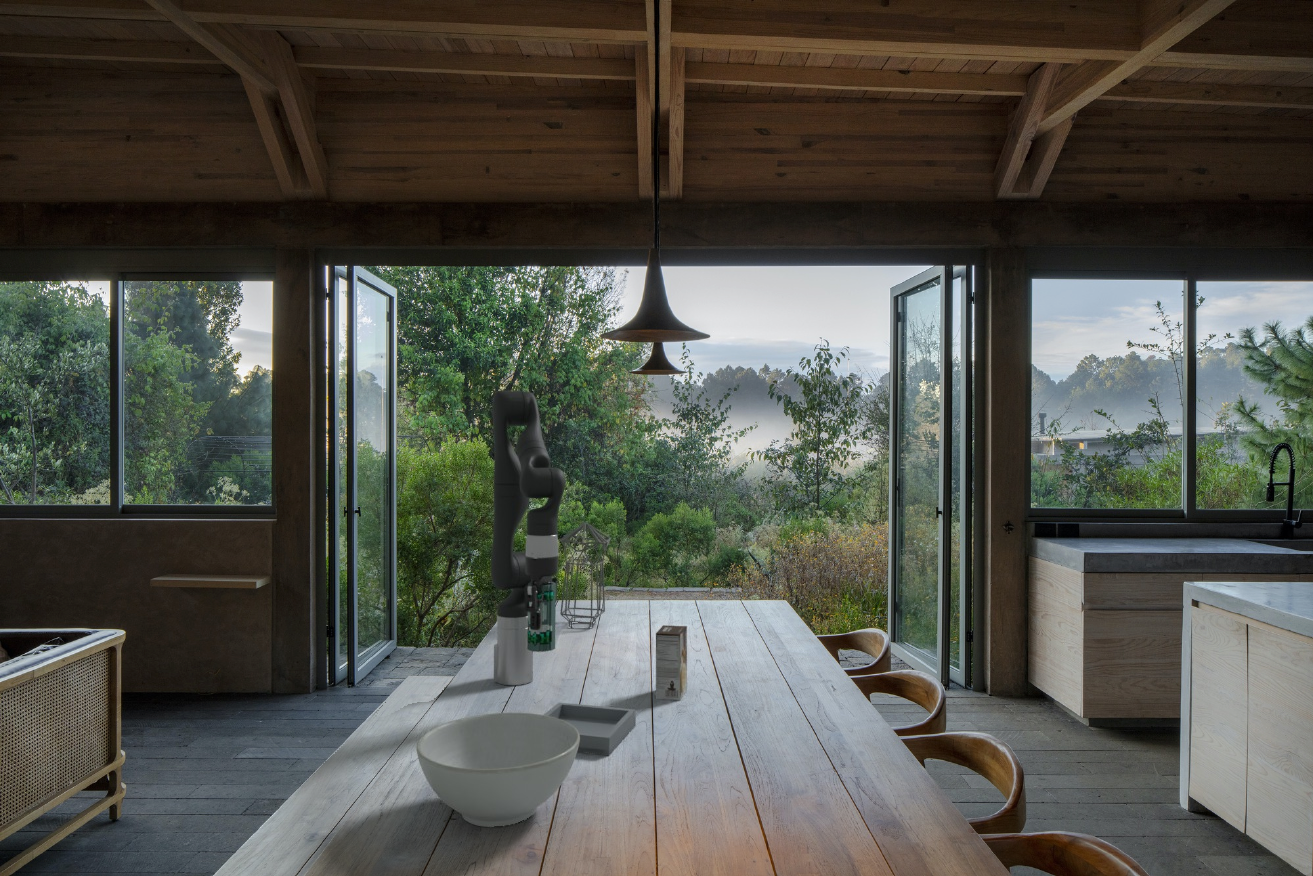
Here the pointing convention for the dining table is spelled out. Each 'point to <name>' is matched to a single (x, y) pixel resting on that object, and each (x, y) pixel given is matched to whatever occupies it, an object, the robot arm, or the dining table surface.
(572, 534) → the geometric lantern
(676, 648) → the coffee box
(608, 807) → the dining table surface
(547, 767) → the decorative bowl
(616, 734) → the tray
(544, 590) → the can
